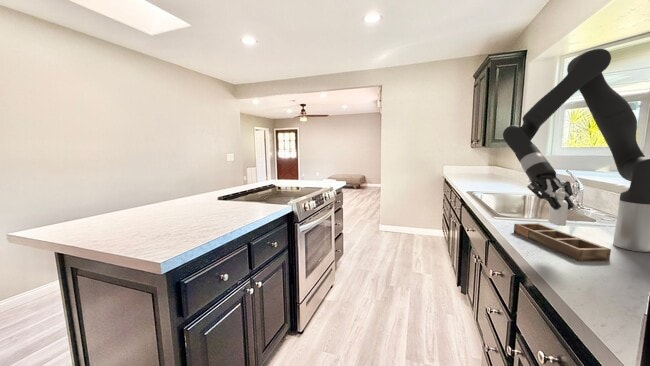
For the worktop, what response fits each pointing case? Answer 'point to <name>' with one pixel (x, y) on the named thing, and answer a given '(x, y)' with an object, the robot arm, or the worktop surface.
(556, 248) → the walnut rack
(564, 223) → the eye dropper bottle
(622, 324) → the worktop surface
